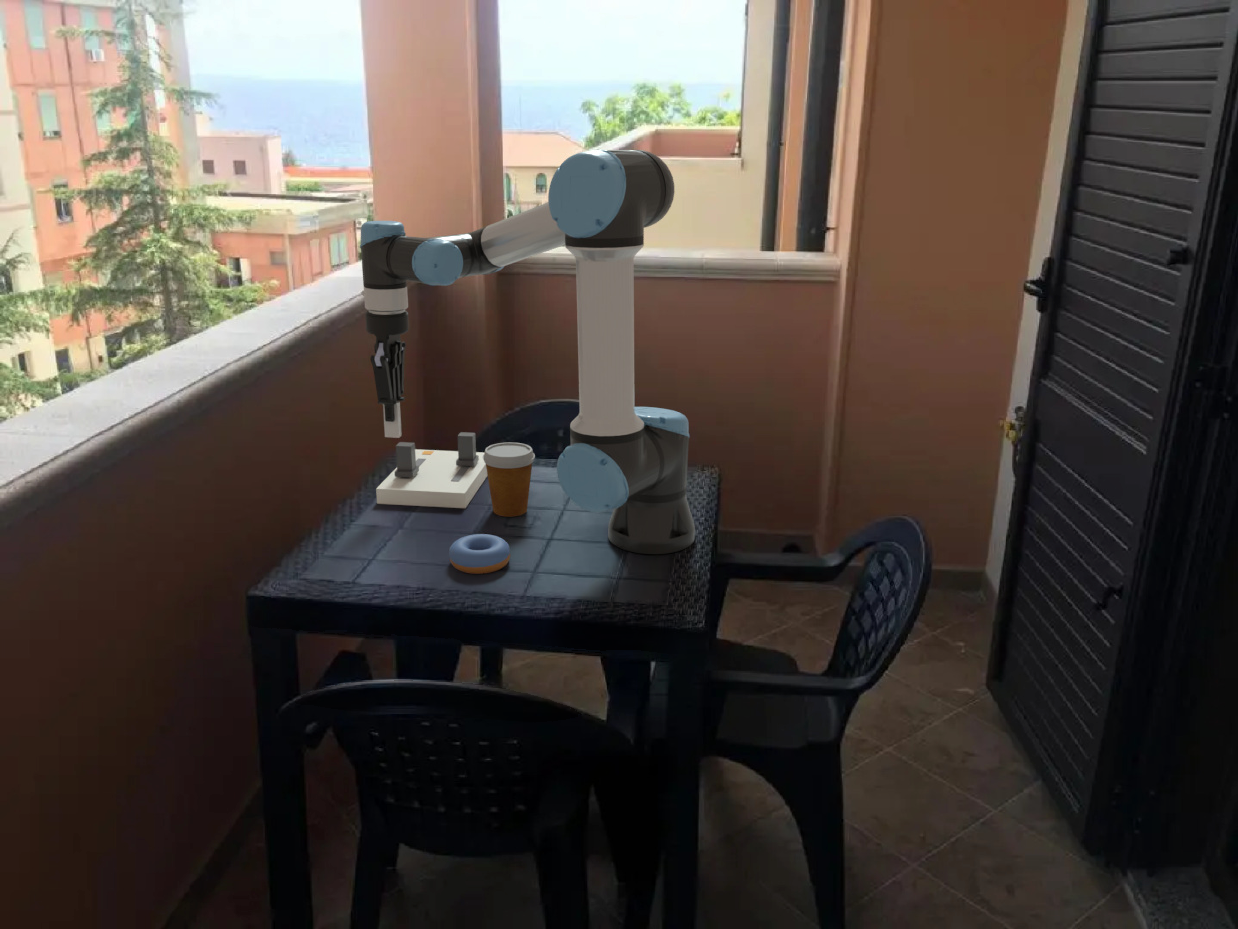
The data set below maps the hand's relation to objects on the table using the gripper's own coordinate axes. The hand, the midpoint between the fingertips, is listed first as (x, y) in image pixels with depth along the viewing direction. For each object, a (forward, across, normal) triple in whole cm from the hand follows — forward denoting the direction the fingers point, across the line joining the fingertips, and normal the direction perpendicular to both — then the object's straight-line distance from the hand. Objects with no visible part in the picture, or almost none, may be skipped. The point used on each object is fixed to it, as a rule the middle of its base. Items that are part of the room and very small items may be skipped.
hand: (393, 436), depth 182 cm
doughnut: (+13, +26, +22) cm, 36 cm away
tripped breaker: (+9, -6, 0) cm, 11 cm away
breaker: (+9, -14, +10) cm, 20 cm away
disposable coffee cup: (+13, +2, +22) cm, 26 cm away
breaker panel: (+13, -10, +6) cm, 17 cm away
